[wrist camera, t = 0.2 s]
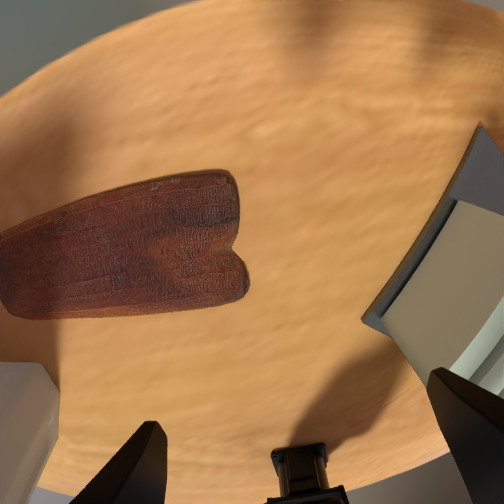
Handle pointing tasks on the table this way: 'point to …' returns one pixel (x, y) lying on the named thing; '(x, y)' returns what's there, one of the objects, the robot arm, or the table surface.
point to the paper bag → (25, 428)
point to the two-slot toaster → (456, 302)
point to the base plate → (448, 214)
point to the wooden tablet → (127, 253)
